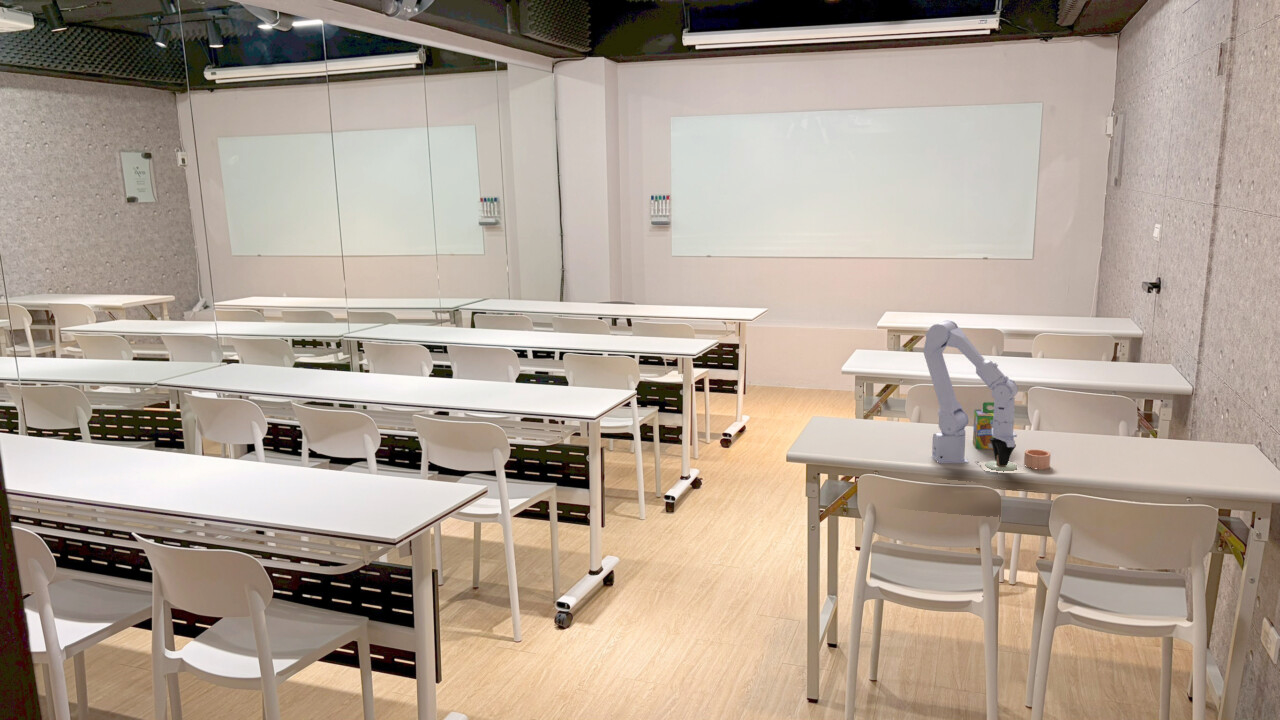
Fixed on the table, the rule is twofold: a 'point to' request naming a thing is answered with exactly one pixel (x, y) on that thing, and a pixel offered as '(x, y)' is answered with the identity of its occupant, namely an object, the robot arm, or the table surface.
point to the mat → (991, 472)
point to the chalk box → (983, 427)
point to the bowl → (1037, 459)
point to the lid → (1000, 466)
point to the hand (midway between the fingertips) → (1001, 463)
